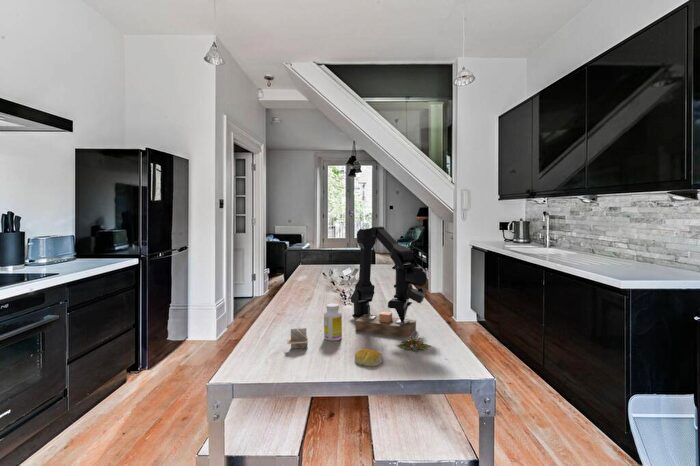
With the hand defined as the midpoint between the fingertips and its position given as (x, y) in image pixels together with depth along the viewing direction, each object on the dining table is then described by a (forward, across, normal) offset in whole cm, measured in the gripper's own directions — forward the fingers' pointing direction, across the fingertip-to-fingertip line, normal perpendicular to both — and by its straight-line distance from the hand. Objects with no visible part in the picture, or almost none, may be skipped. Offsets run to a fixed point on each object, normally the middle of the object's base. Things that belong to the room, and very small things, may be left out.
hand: (402, 321), depth 152 cm
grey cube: (+4, 0, +14) cm, 14 cm away
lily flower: (+5, -12, -8) cm, 16 cm away
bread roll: (+5, -31, +2) cm, 32 cm away
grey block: (+4, 0, 0) cm, 4 cm away
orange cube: (+1, 0, +7) cm, 7 cm away
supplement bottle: (+5, -17, +22) cm, 28 cm away
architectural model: (+5, -31, +28) cm, 42 cm away
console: (+5, 0, +7) cm, 8 cm away
